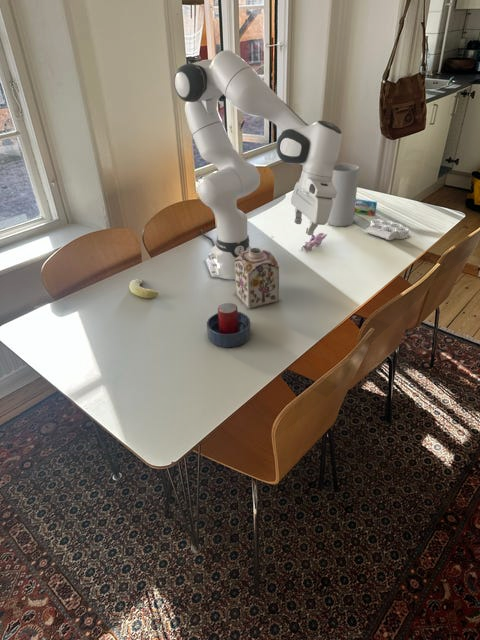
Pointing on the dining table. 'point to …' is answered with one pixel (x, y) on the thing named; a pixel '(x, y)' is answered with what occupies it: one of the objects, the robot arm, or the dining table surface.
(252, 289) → the decorative jar
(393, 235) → the egg carton
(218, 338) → the bowl
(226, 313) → the can
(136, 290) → the fruit
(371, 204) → the colorful printed box
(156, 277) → the dining table surface
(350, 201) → the cylinder vase
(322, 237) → the pink antlered figurine
